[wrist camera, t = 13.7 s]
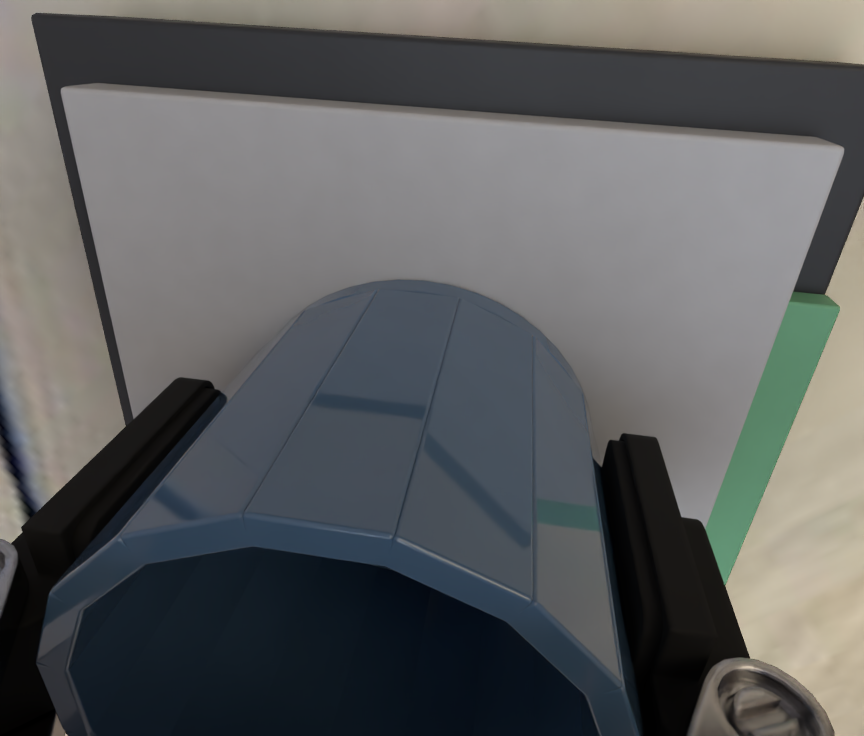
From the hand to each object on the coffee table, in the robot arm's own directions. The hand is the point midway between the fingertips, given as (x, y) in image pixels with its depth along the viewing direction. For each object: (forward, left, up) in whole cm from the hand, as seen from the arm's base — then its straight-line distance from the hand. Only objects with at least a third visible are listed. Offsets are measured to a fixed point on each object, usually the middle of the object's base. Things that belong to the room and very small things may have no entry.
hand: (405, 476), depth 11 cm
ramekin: (0, 0, -1) cm, 1 cm away
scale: (0, 0, -5) cm, 5 cm away
